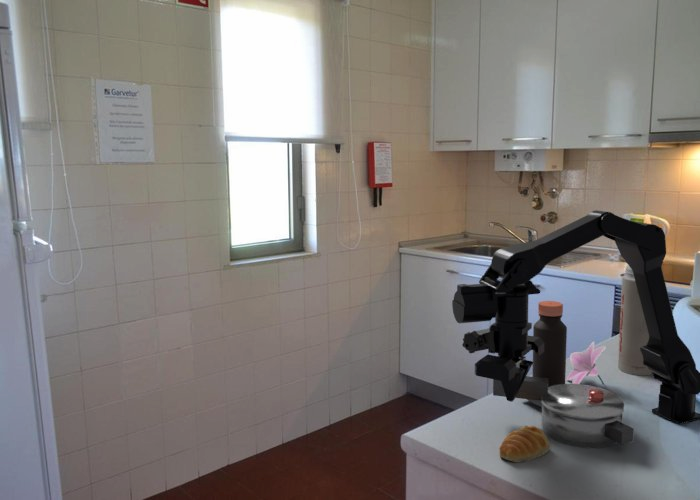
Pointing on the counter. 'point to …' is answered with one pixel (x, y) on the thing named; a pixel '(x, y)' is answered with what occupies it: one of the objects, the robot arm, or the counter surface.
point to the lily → (584, 363)
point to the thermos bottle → (632, 328)
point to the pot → (584, 430)
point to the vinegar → (550, 343)
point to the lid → (569, 399)
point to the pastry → (524, 444)
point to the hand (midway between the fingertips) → (510, 400)
